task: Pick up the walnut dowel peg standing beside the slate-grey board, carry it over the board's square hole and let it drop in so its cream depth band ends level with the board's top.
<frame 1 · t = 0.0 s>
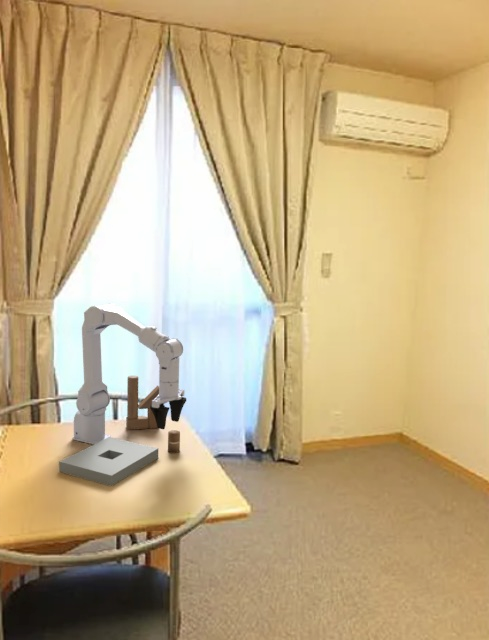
hand: (168, 424, 175), 10 cm above the table, tool pointing down, fingers open, 7 cm apart
wooden block: (142, 428, 201), on the table
board: (110, 464, 170), on the table
peg: (173, 450, 182), on the table
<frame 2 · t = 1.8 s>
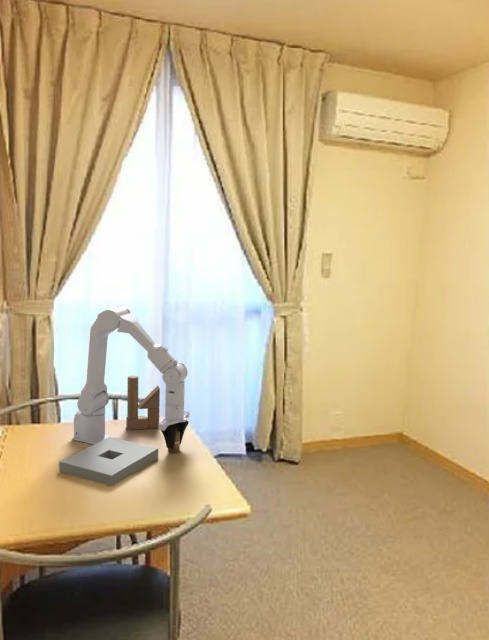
hand: (173, 445, 181), 2 cm above the table, tool pointing down, fingers closed on peg, 4 cm apart
peg: (173, 450, 182), on the table, touching gripper
everything else where it was.
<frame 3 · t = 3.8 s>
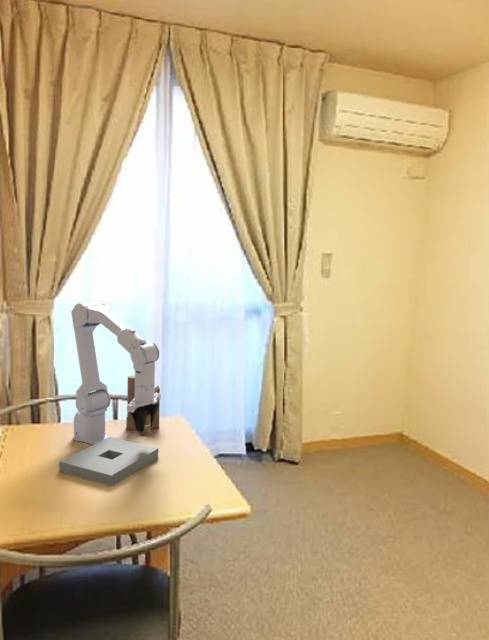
hand: (144, 428, 174), 9 cm above the table, tool pointing down, fingers closed on peg, 4 cm apart
peg: (144, 434, 175), point 7 cm above the table, touching gripper
everything else where it was.
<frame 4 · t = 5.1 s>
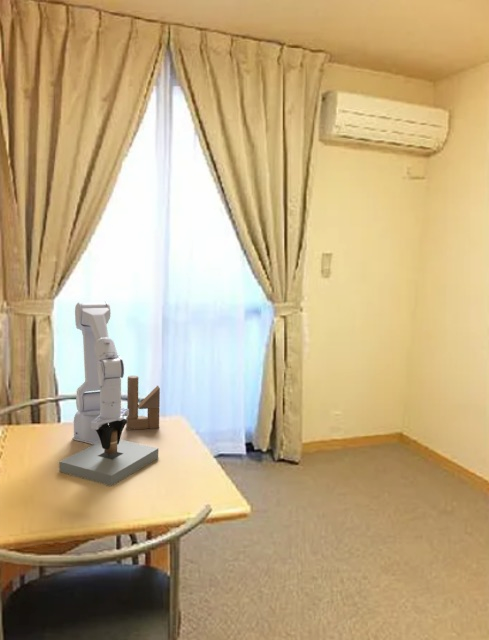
hand: (110, 446, 169), 6 cm above the table, tool pointing down, fingers closed on peg, 4 cm apart
peg: (110, 451, 169), point 4 cm above the table, touching gripper
everything else where it was.
when the fingers open (4 cm above the table, at t = 5.8 s): peg drops 2 cm, resting in board.
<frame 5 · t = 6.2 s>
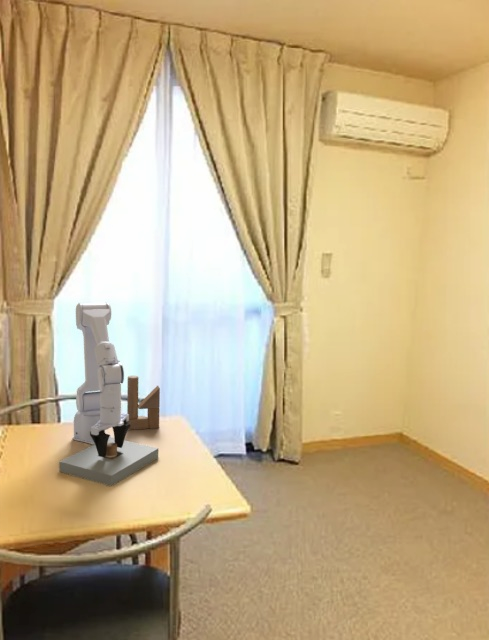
hand: (110, 451, 169), 4 cm above the table, tool pointing down, fingers open, 7 cm apart
peg: (110, 464, 170), resting in board
everything else where it was.
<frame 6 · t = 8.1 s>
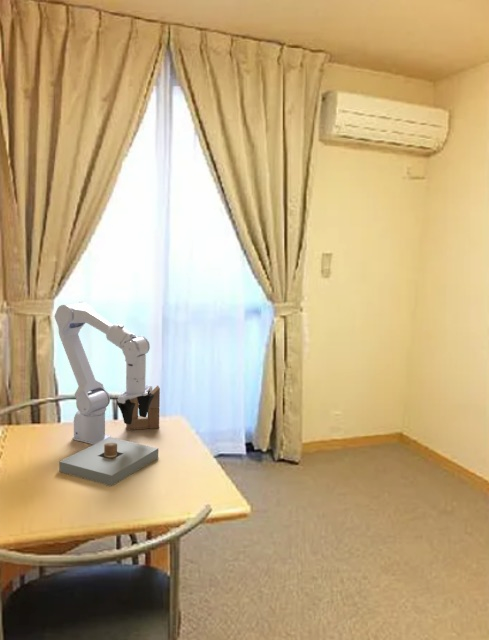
hand: (135, 420, 180), 9 cm above the table, tool pointing down, fingers open, 7 cm apart
nothing on the table moved.
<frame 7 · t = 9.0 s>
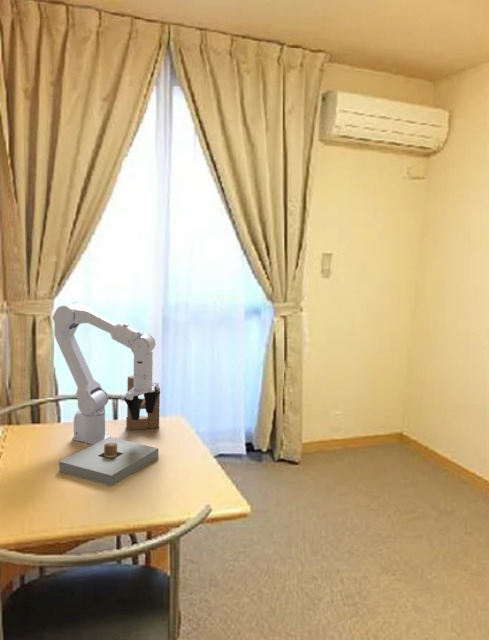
hand: (142, 416, 184), 9 cm above the table, tool pointing down, fingers open, 7 cm apart
nothing on the table moved.
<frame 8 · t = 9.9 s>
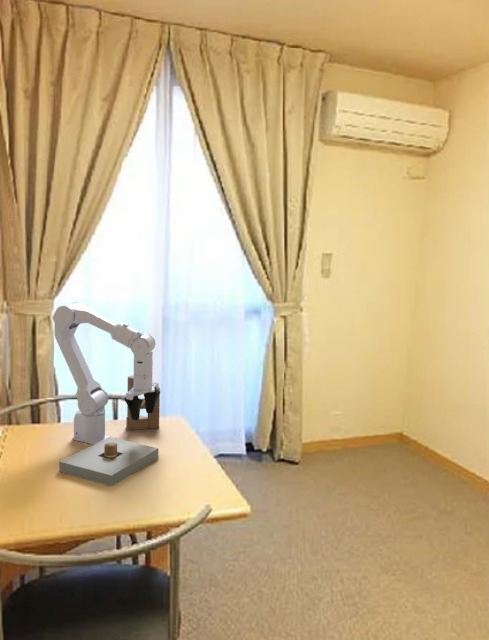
hand: (142, 416, 184), 9 cm above the table, tool pointing down, fingers open, 7 cm apart
nothing on the table moved.
at the end: peg 0.1 cm off-centre on the board, point 0.0 cm above the board's base; peg tilted 0°; the gripper is holding nothing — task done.
